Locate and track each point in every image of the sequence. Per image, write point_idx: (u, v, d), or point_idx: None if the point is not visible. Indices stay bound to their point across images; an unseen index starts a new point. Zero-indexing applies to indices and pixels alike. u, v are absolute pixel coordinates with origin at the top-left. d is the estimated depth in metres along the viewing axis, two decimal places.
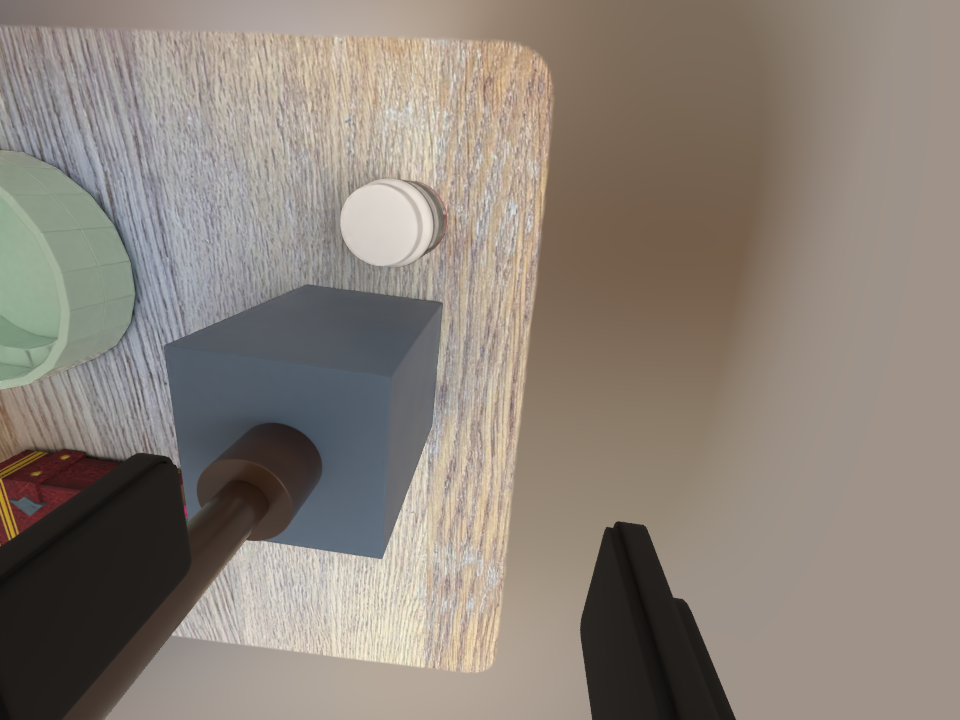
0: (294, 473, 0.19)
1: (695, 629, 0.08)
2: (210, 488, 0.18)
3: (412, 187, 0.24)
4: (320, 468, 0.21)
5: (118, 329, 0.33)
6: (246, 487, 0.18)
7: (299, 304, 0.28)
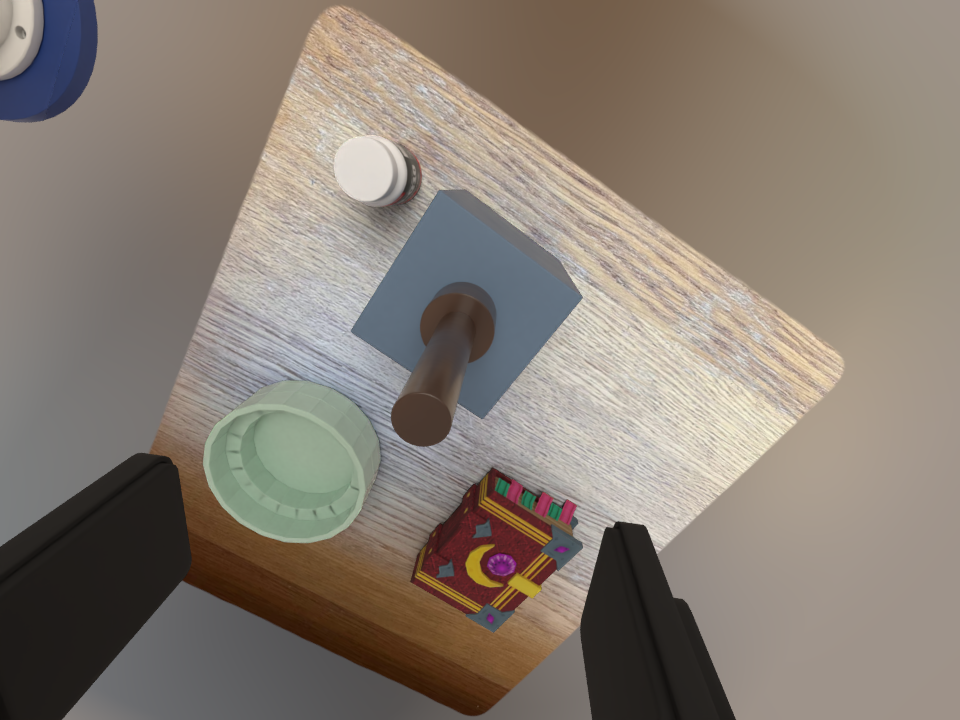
0: (460, 289, 0.24)
1: (695, 628, 0.08)
2: None
3: None
4: (481, 288, 0.26)
5: (368, 426, 0.44)
6: (444, 316, 0.23)
7: None
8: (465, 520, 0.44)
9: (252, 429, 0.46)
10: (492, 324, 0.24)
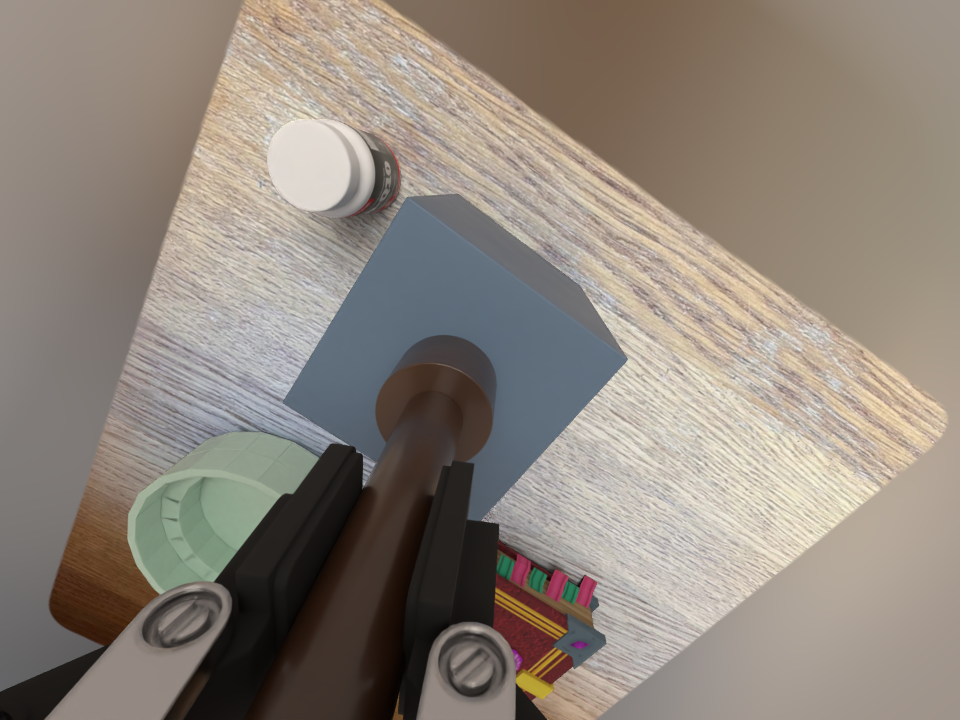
0: (438, 353, 0.15)
1: (497, 544, 0.09)
2: None
3: None
4: (473, 345, 0.17)
5: None
6: (413, 399, 0.15)
7: None
8: None
9: (196, 489, 0.37)
10: (489, 411, 0.15)
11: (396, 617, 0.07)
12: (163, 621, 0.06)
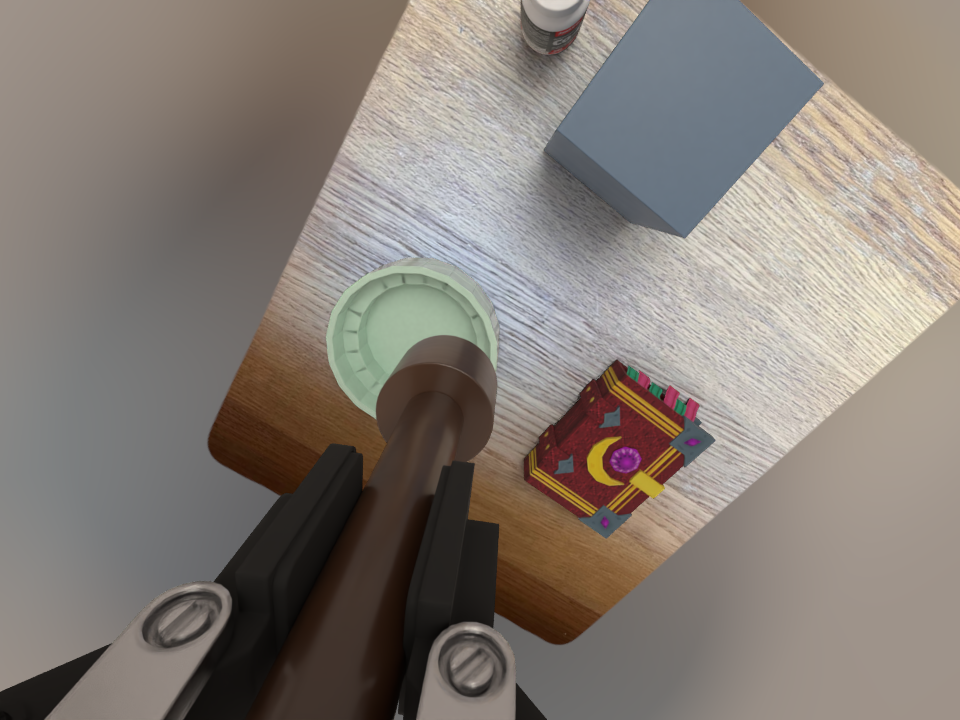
0: (439, 353, 0.15)
1: (497, 544, 0.09)
2: None
3: None
4: (473, 345, 0.17)
5: (492, 308, 0.42)
6: (413, 399, 0.15)
7: None
8: (593, 408, 0.42)
9: (368, 312, 0.44)
10: (490, 411, 0.15)
11: (397, 617, 0.07)
12: (163, 621, 0.06)
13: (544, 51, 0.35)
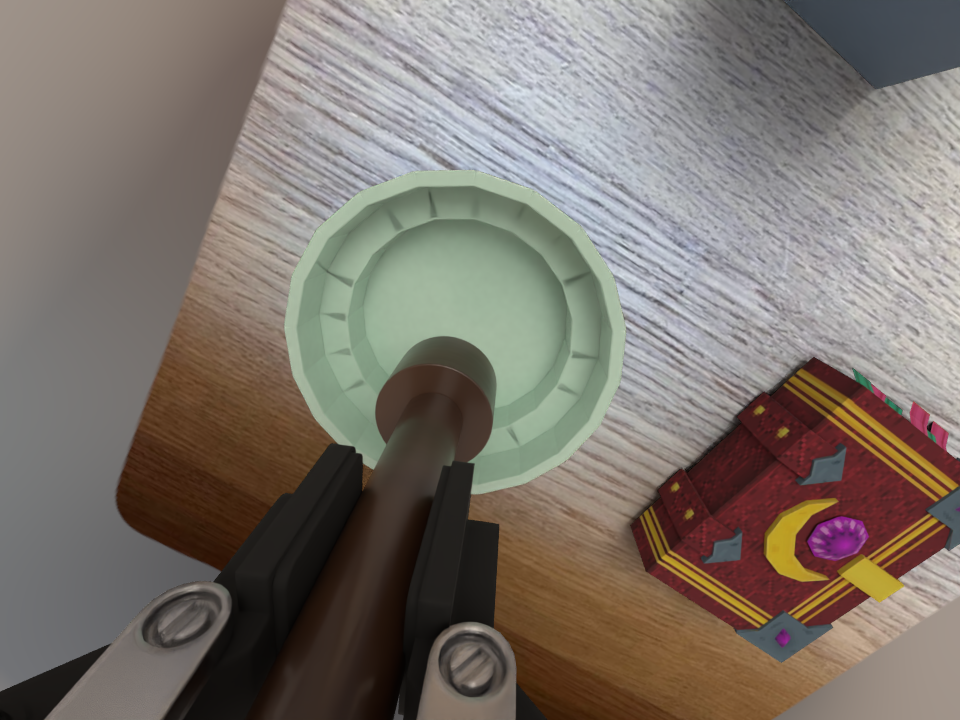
0: (439, 354, 0.15)
1: (497, 544, 0.09)
2: None
3: None
4: (473, 346, 0.17)
5: None
6: (413, 400, 0.15)
7: None
8: (794, 449, 0.22)
9: (365, 280, 0.24)
10: (489, 412, 0.15)
11: (396, 620, 0.07)
12: (163, 621, 0.06)
13: None
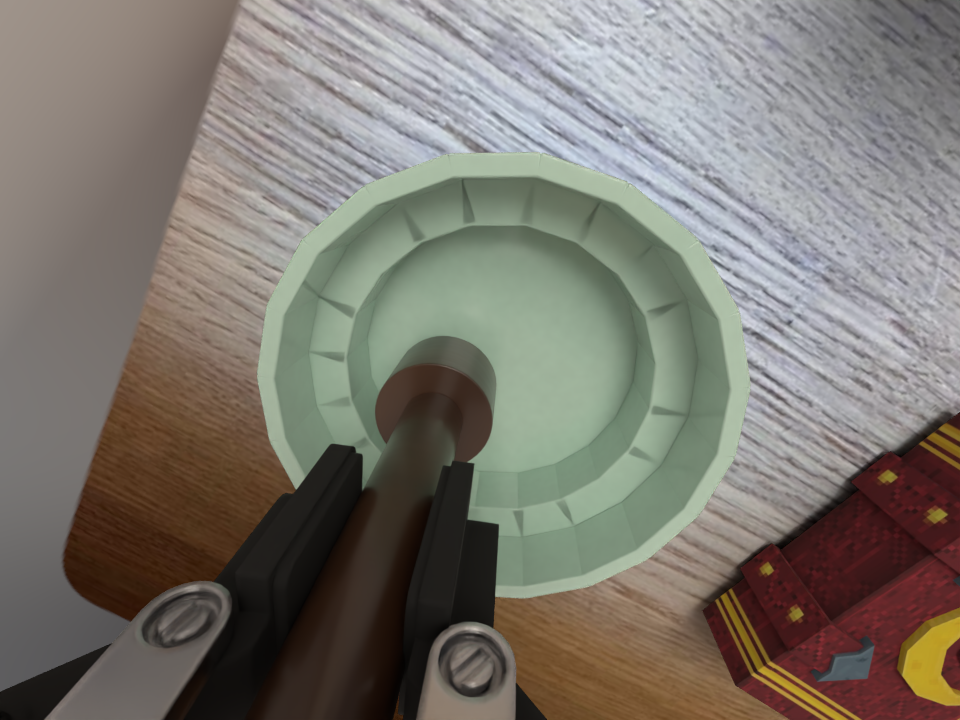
0: (438, 354, 0.15)
1: (497, 544, 0.09)
2: None
3: None
4: (473, 346, 0.17)
5: None
6: (413, 400, 0.15)
7: None
8: None
9: (371, 306, 0.18)
10: (489, 412, 0.15)
11: (396, 619, 0.07)
12: (163, 621, 0.06)
13: None
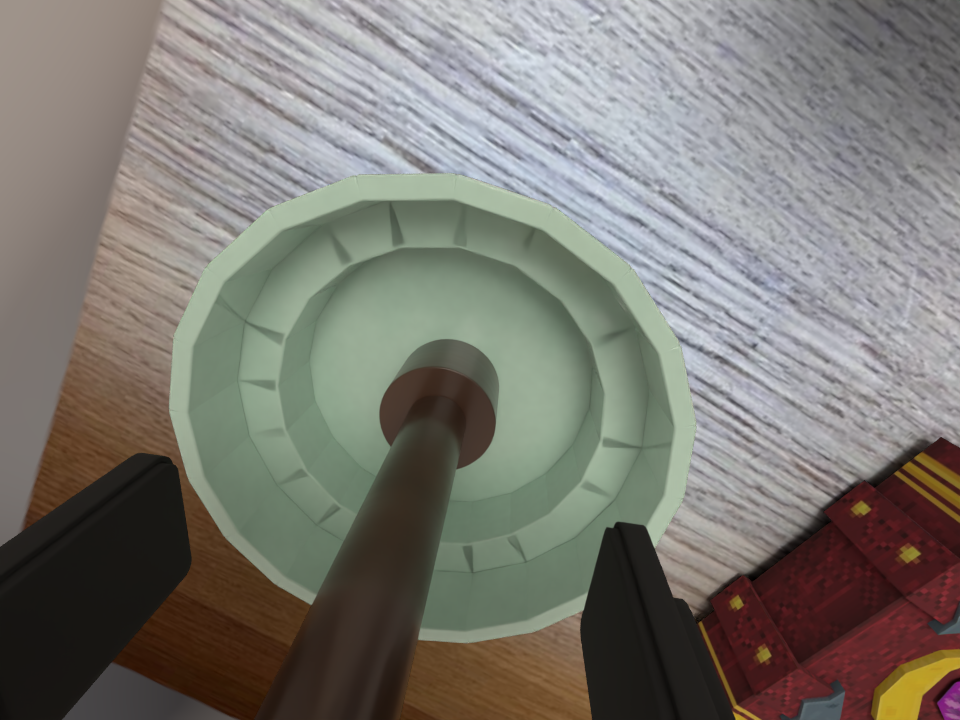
0: (442, 357, 0.15)
1: (695, 628, 0.08)
2: None
3: None
4: (476, 349, 0.17)
5: None
6: (417, 403, 0.15)
7: None
8: (933, 586, 0.15)
9: (309, 329, 0.17)
10: (492, 414, 0.15)
11: (403, 619, 0.08)
12: None
13: None
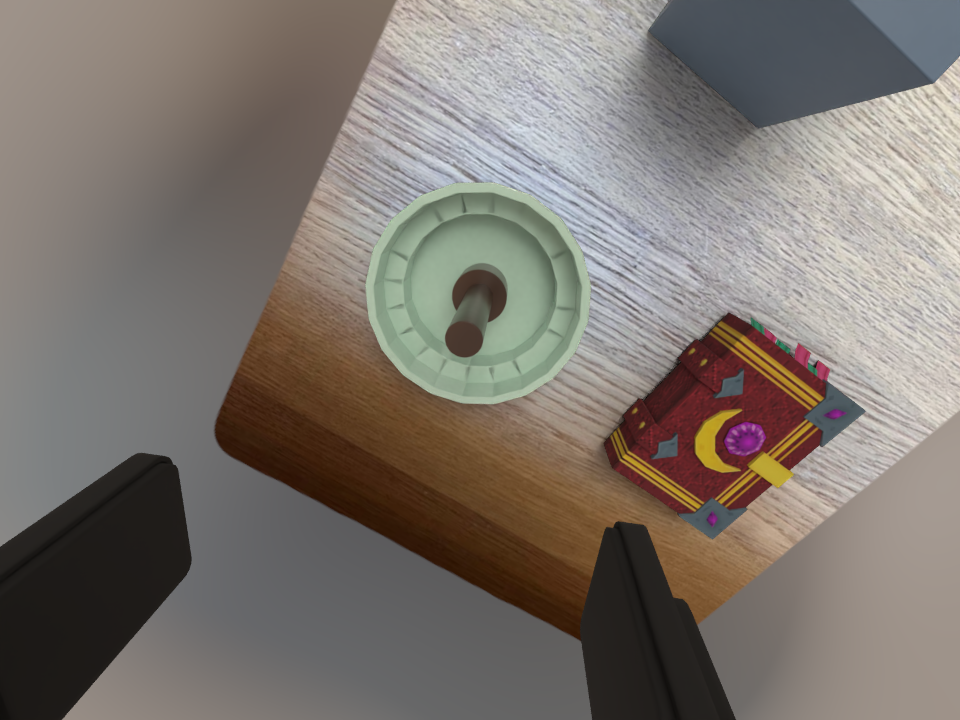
0: (481, 267, 0.33)
1: (696, 629, 0.08)
2: None
3: None
4: (496, 268, 0.35)
5: None
6: (470, 286, 0.32)
7: None
8: (709, 372, 0.32)
9: (414, 257, 0.34)
10: (505, 292, 0.32)
11: (482, 318, 0.25)
12: None
13: None
